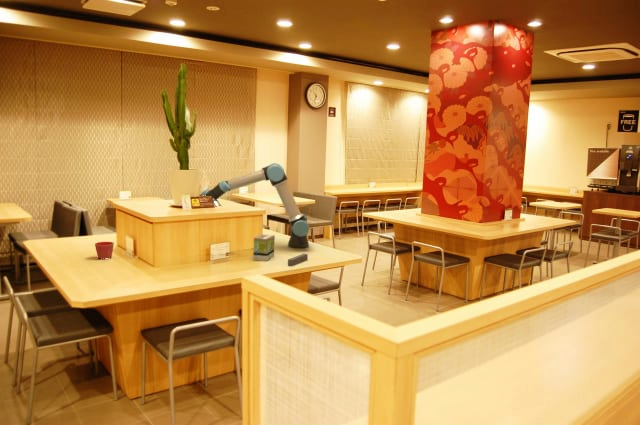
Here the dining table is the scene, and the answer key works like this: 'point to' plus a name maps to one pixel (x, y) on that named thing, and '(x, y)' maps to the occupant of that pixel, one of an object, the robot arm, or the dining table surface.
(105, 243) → the flower pot
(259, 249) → the tea box
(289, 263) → the rail
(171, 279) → the dining table surface
